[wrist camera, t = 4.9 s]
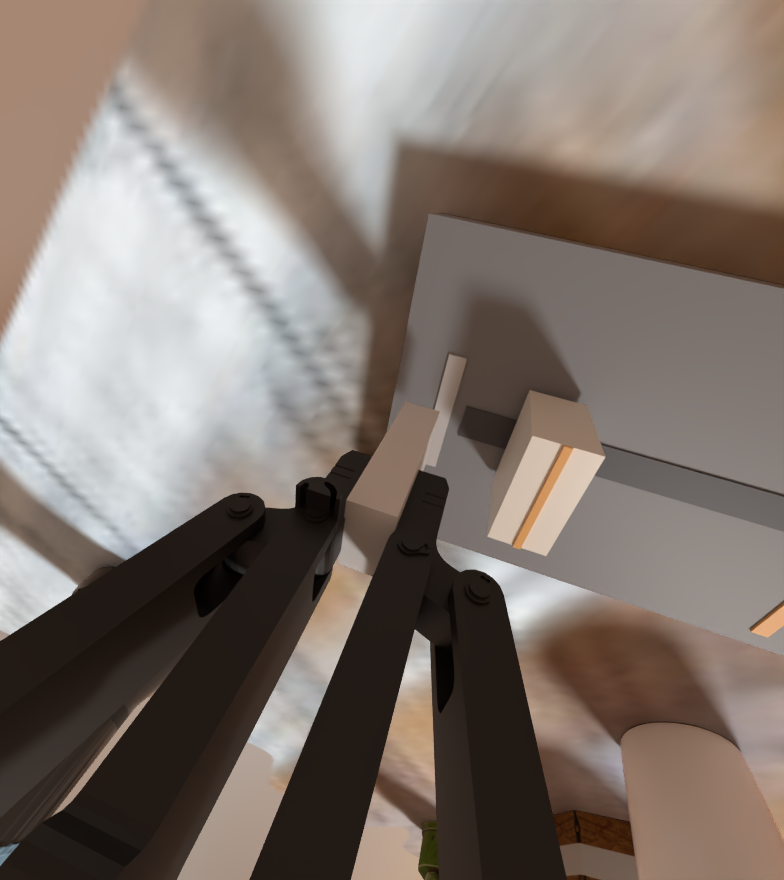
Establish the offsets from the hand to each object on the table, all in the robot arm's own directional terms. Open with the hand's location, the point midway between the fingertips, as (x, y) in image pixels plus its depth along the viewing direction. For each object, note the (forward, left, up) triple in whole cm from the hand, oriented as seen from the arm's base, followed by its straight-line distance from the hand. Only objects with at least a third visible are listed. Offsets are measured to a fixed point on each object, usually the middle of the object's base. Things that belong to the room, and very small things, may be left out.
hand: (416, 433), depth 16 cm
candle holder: (+26, -25, -6) cm, 37 cm away
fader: (+5, 0, -2) cm, 6 cm away
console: (+13, 0, -6) cm, 14 cm away
